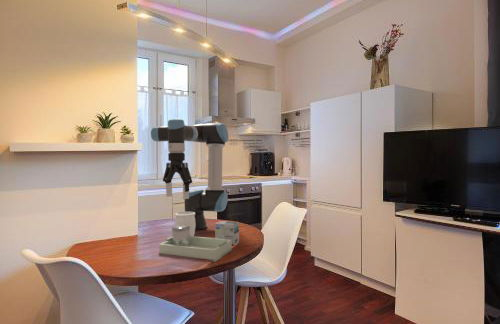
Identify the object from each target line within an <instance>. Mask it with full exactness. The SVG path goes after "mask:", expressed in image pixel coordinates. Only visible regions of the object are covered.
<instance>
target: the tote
mask: <svg viewBox="0 0 500 324" xmlns="http://www.w3.org/2000/svg"><path fill="white" fill-rule="evenodd" d="M232 245H233V244H232V240H227V239H216V238H215V237H205V236H203V237H202V236H195V235H194V236H190V247H187V246H178V245H172V236H170V237H167V238H166V239H165V241H163V242H161V243H158V253H159V254H164V255H172V256H179V257H188V258H194V259H195V258H196V259H204V260H205V259H206V260H208V262H210V263H215V262H217V261H218V260H220V259H222V258H223V257H225V256H226V255H227V254H230V252H232V250H233V249H232V248H233V246H232Z"/></svg>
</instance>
